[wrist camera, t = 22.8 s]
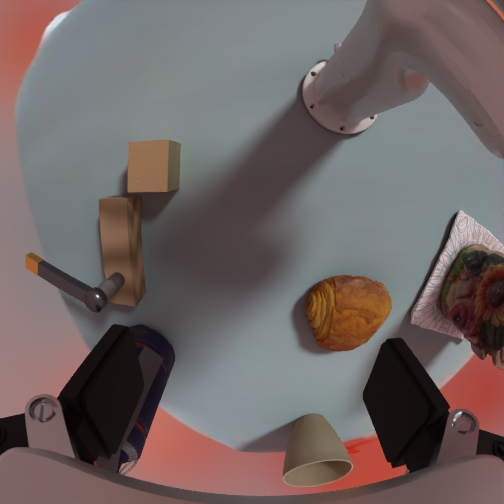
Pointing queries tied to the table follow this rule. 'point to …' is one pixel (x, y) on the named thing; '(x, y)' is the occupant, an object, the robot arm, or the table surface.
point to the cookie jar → (467, 290)
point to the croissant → (347, 311)
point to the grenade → (143, 396)
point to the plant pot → (314, 454)
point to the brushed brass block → (153, 166)
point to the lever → (67, 283)
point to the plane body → (122, 249)
